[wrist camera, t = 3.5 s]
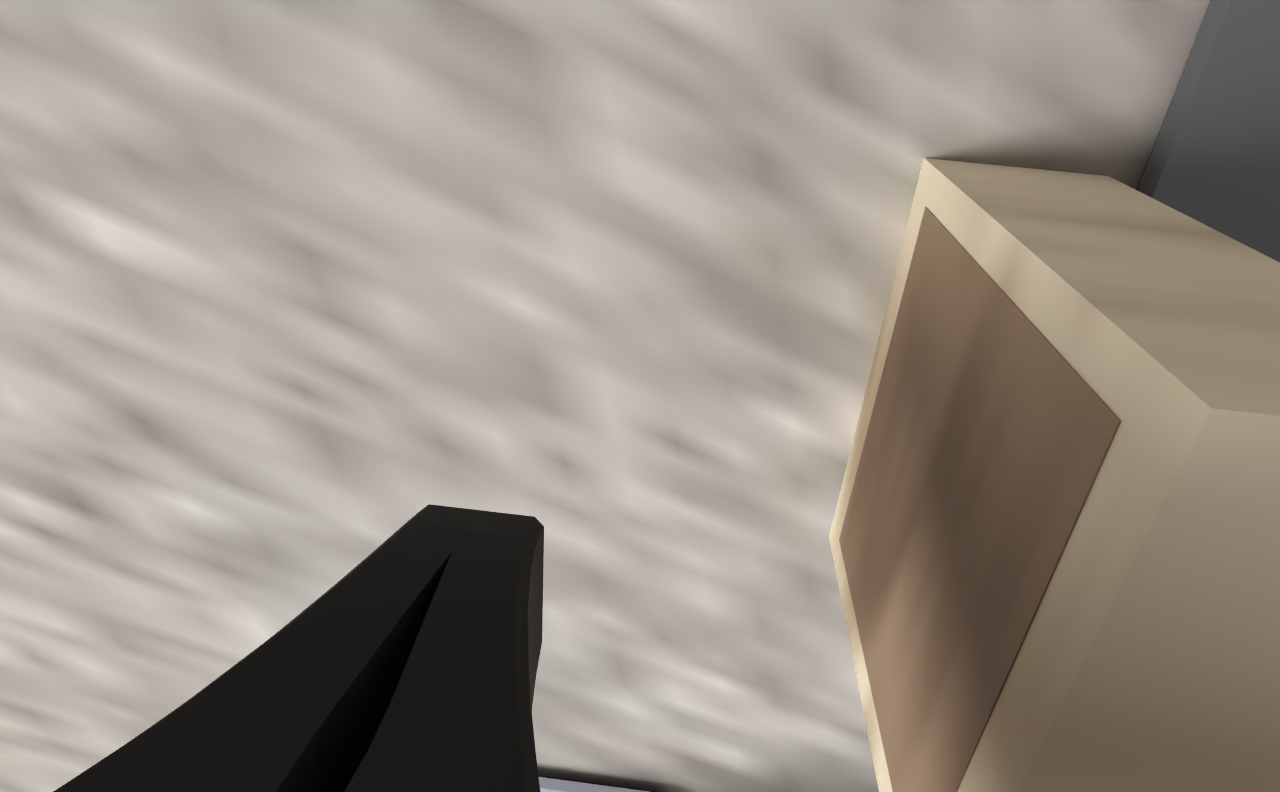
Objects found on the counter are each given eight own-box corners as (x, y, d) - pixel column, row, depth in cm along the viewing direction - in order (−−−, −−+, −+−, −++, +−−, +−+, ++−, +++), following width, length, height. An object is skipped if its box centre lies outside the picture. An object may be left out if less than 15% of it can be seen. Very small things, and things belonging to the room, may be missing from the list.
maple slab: (969, 553, 16) (1175, 1027, 9) (828, 536, 17) (915, 990, 9) (1107, 176, 13) (1666, 458, 5) (922, 157, 13) (1208, 407, 5)
